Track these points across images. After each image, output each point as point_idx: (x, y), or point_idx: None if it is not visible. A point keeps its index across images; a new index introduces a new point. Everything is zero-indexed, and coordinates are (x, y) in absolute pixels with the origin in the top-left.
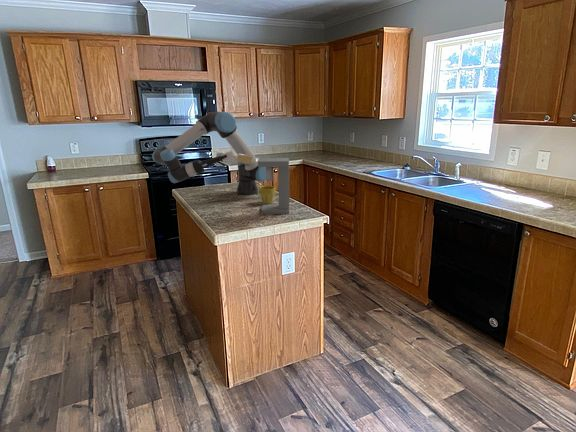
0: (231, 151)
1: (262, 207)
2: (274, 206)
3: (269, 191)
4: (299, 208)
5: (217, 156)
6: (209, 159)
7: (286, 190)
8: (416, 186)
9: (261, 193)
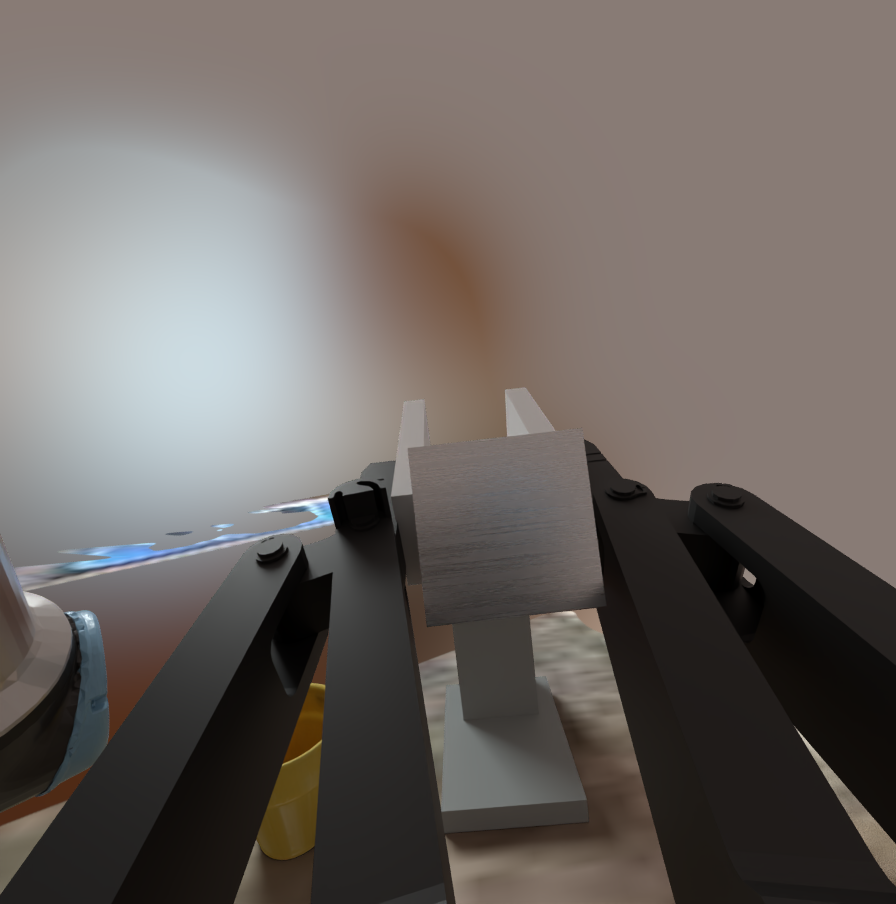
0: (520, 392)
1: (511, 803)
2: (482, 739)
3: None
4: None
5: (585, 526)
6: (777, 901)
7: None
8: (295, 529)
9: (318, 781)
